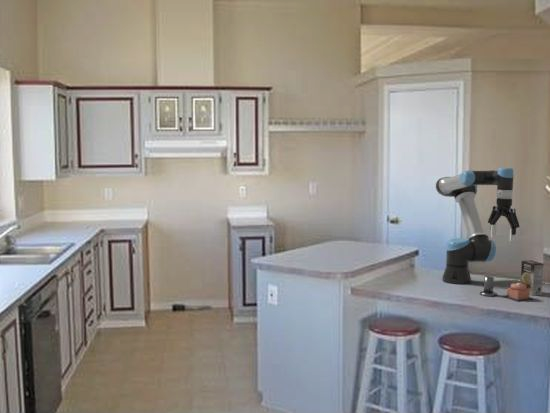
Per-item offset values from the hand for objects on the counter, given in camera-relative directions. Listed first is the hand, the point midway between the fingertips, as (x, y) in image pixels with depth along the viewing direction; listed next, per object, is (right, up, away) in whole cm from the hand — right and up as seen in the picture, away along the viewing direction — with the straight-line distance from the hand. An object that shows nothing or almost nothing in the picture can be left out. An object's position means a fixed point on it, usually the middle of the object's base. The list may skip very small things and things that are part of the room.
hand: (502, 239), depth 330 cm
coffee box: (+13, -28, -3) cm, 31 cm away
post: (-10, -28, -8) cm, 30 cm away
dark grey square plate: (+3, -28, -14) cm, 32 cm away
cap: (+3, -28, -14) cm, 31 cm away
